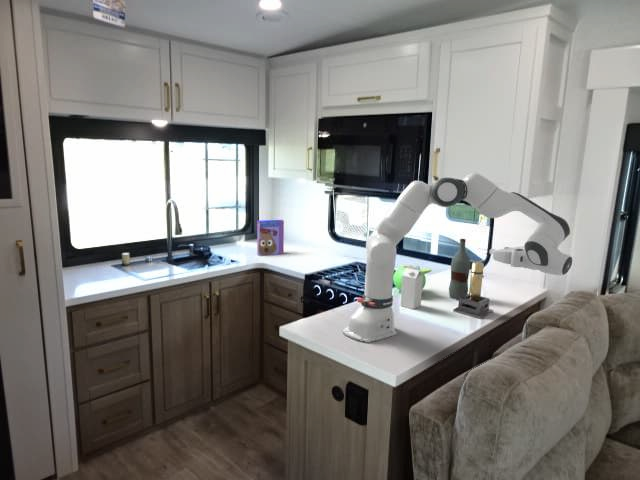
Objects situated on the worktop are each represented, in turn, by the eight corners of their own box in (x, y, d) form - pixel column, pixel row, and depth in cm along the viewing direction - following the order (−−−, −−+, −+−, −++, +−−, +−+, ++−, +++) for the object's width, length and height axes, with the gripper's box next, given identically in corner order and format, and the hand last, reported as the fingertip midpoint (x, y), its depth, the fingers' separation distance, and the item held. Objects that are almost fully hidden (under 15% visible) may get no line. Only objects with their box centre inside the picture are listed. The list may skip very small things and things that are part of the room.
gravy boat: (387, 288, 235) (389, 261, 232) (416, 286, 239) (418, 260, 236) (401, 298, 217) (403, 270, 215) (432, 296, 222) (434, 268, 219)
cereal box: (259, 256, 300) (259, 221, 295) (257, 254, 304) (257, 220, 299) (283, 254, 306) (283, 220, 302) (281, 252, 311) (281, 219, 306)
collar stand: (480, 319, 193) (481, 305, 191) (453, 311, 202) (454, 297, 200) (493, 312, 202) (494, 298, 200) (466, 304, 211) (467, 291, 209)
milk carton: (407, 302, 213) (409, 264, 209) (420, 305, 208) (423, 266, 205) (400, 305, 207) (402, 267, 204) (413, 309, 203) (416, 269, 199)
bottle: (454, 300, 216) (459, 241, 210) (444, 295, 225) (449, 237, 219) (471, 299, 219) (476, 240, 213) (460, 293, 227) (465, 237, 222)
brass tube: (476, 312, 198) (480, 265, 194) (465, 309, 201) (469, 263, 197) (481, 309, 201) (486, 263, 197) (470, 306, 205) (475, 261, 201)
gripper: (545, 246, 176) (514, 240, 188) (512, 251, 166) (482, 244, 177) (543, 261, 177) (512, 254, 189) (511, 267, 167) (481, 259, 179)
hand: (497, 250), depth 183 cm, fingers open, 8 cm apart
